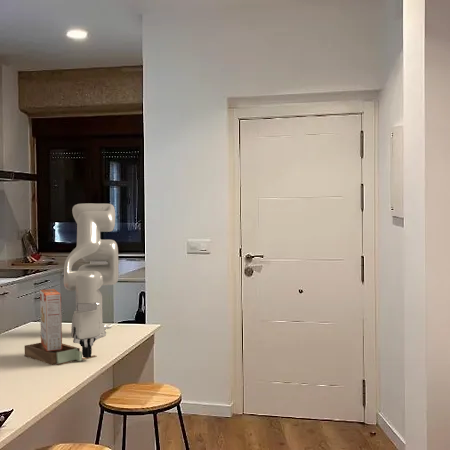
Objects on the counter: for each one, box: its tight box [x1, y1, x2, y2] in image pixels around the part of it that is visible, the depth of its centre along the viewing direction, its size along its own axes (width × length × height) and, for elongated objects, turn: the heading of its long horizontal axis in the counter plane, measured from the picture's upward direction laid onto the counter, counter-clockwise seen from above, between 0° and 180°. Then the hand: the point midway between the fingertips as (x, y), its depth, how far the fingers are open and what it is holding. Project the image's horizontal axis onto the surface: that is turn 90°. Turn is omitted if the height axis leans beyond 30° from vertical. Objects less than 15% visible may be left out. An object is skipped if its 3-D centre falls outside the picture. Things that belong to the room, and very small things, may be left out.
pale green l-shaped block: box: [57, 349, 83, 364], centre depth 206 cm, size 8×4×4 cm, turn 138°
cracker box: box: [39, 288, 63, 351], centre depth 213 cm, size 14×6×21 cm, turn 26°
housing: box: [24, 342, 98, 366], centre depth 215 cm, size 18×21×4 cm
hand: (86, 356), depth 209 cm, fingers closed
